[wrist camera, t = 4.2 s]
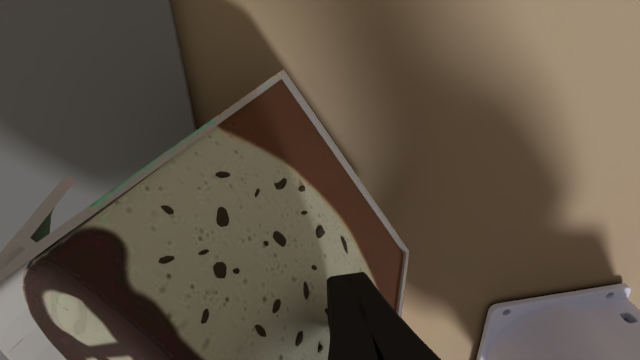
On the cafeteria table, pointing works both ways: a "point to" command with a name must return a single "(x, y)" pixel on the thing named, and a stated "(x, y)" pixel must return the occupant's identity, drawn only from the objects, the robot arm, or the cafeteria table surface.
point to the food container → (204, 248)
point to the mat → (84, 100)
